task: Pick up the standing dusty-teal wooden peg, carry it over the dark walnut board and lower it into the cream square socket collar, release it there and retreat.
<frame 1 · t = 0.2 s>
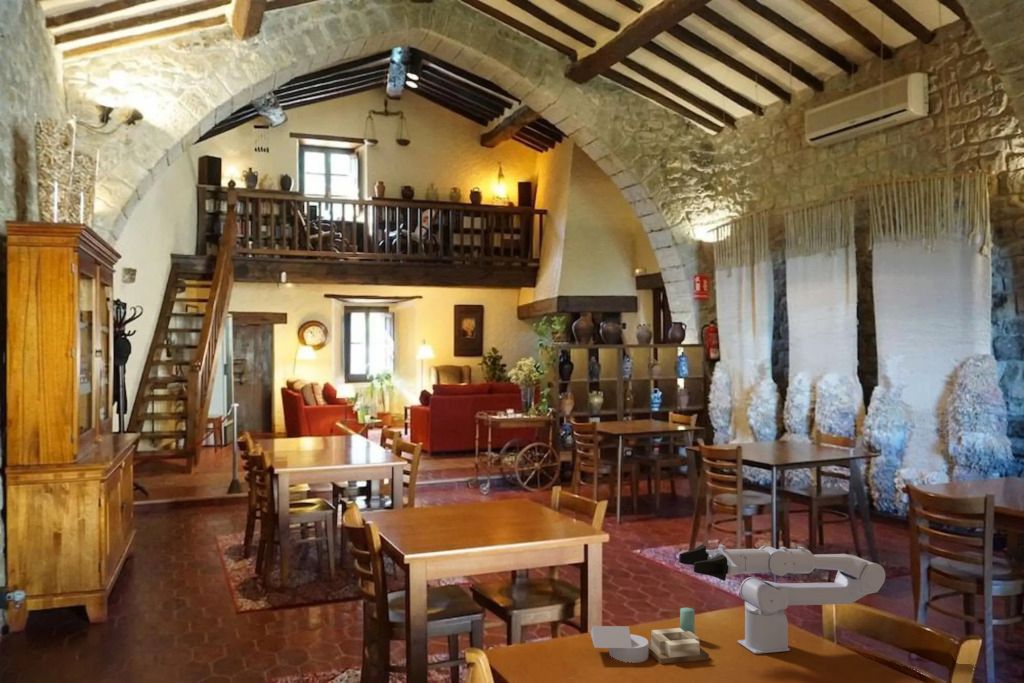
hand: (686, 562, 180), 21 cm above the table, tool horizontal, fingers open, 7 cm apart
peg: (687, 638, 190), on the table
wedge on round base: (620, 656, 178), on the table
socket board: (675, 653, 180), on the table
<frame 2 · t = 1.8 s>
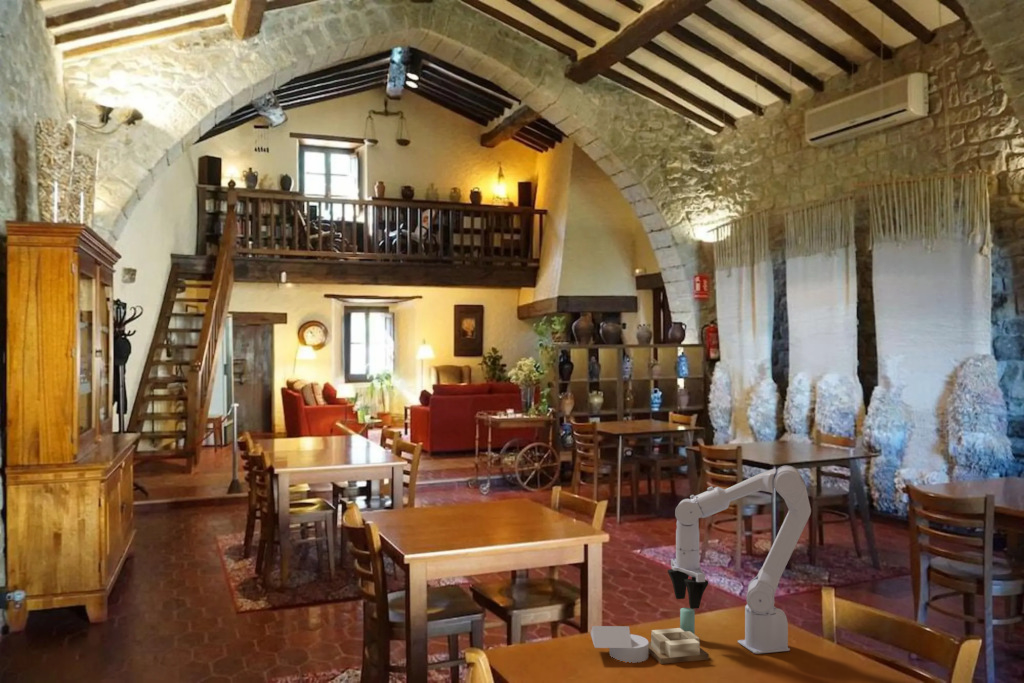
hand: (687, 603, 190), 9 cm above the table, tool pointing down, fingers open, 7 cm apart
nothing on the table moved.
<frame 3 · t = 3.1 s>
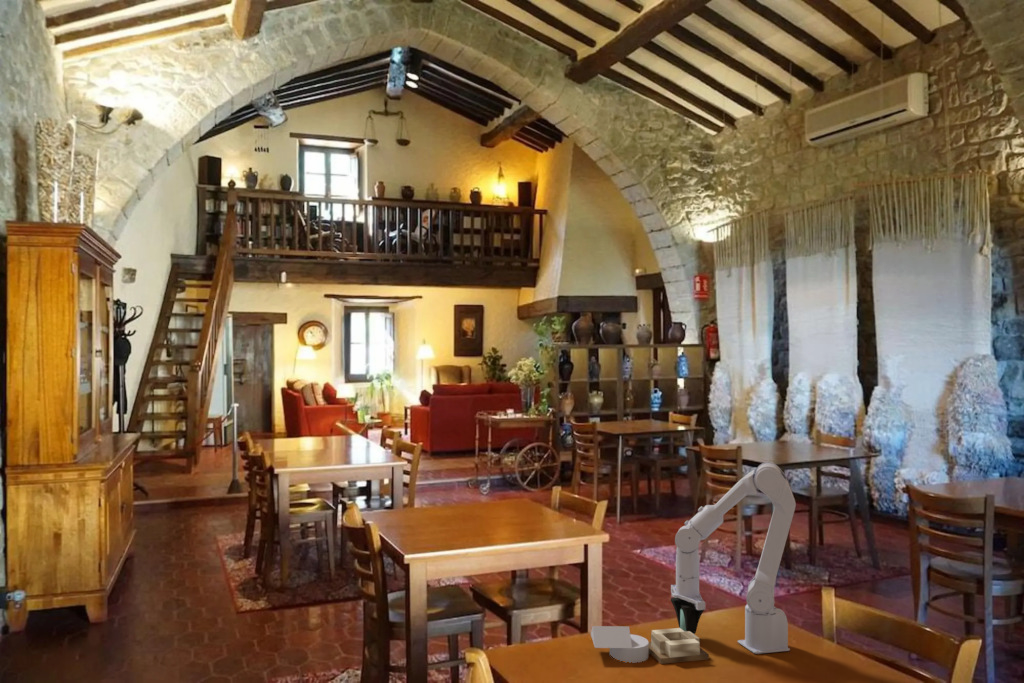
hand: (687, 630, 190), 2 cm above the table, tool pointing down, fingers closed on peg, 3 cm apart
peg: (687, 638, 190), on the table, touching gripper
everything else where it was.
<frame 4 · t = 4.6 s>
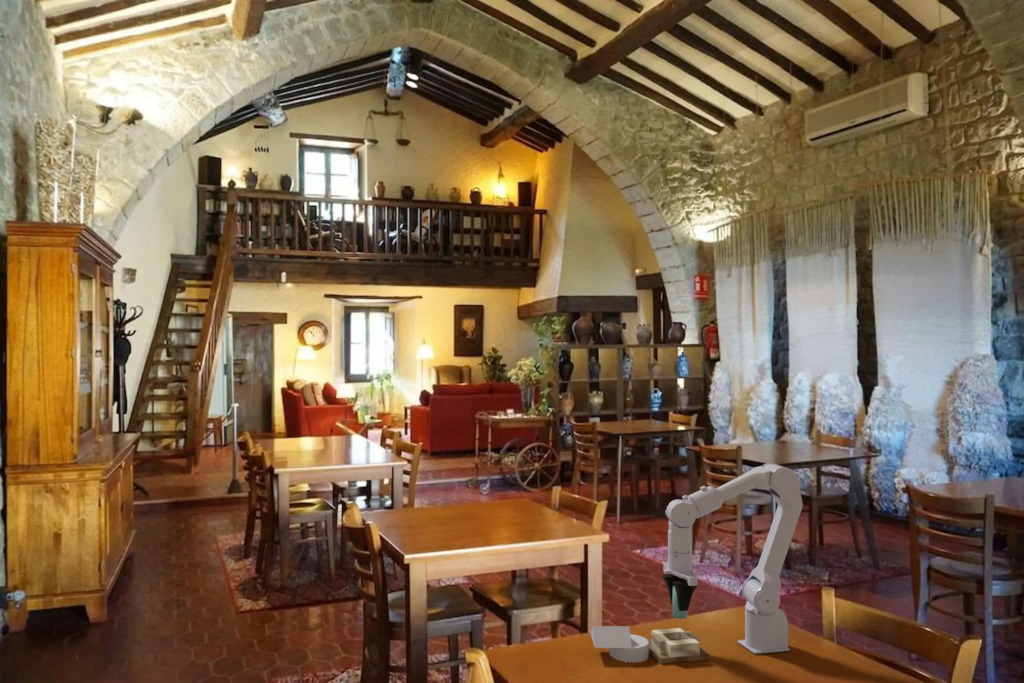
hand: (679, 607, 184), 9 cm above the table, tool pointing down, fingers closed on peg, 3 cm apart
peg: (679, 616, 184), point 7 cm above the table, touching gripper
everything else where it was.
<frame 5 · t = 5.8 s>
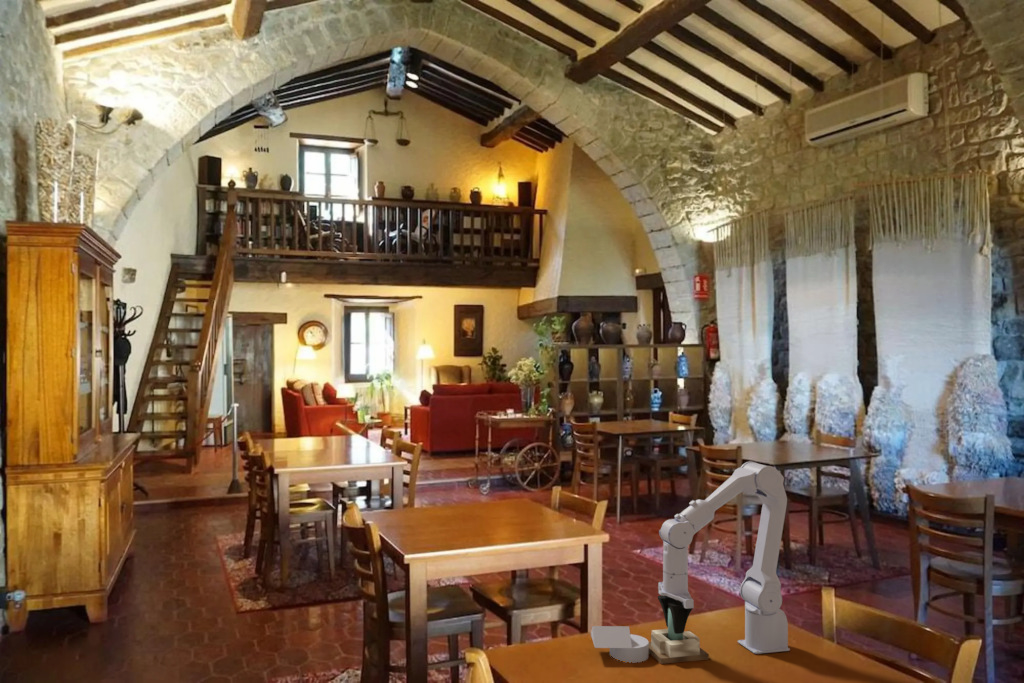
hand: (675, 629, 180), 5 cm above the table, tool pointing down, fingers closed on peg, 3 cm apart
peg: (675, 638, 180), point 3 cm above the table, touching gripper
everything else where it was.
when the fingers open (4 cm above the table, at t = 6.5 s): peg drops 1 cm, resting on socket board.
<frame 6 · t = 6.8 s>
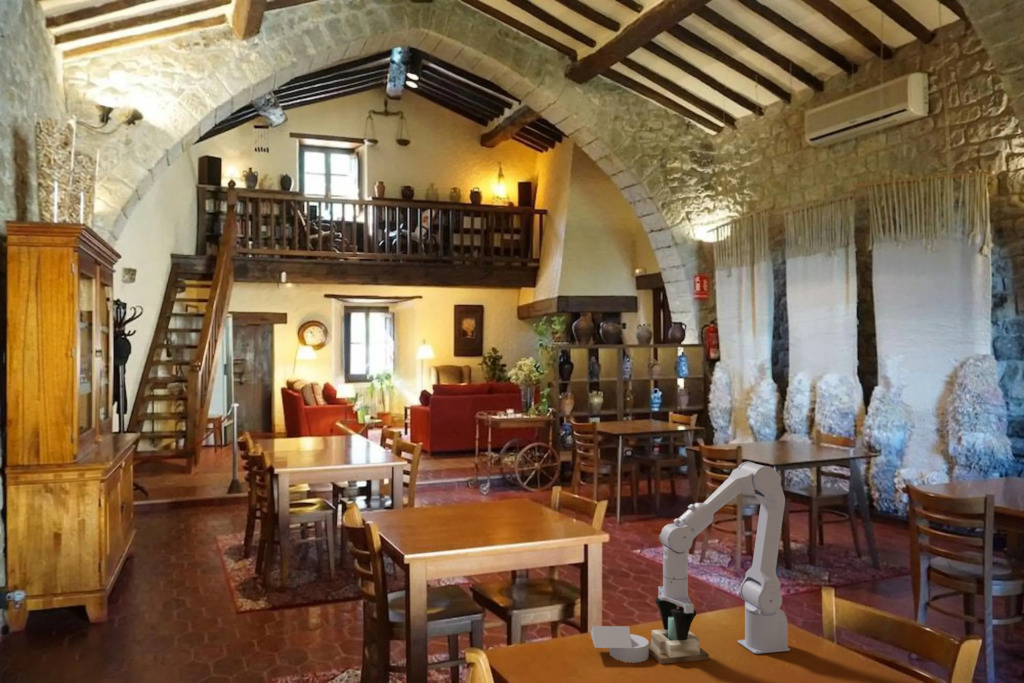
hand: (675, 634, 180), 4 cm above the table, tool pointing down, fingers open, 6 cm apart
peg: (675, 648, 180), point 1 cm above the table, touching socket board
everything else where it was.
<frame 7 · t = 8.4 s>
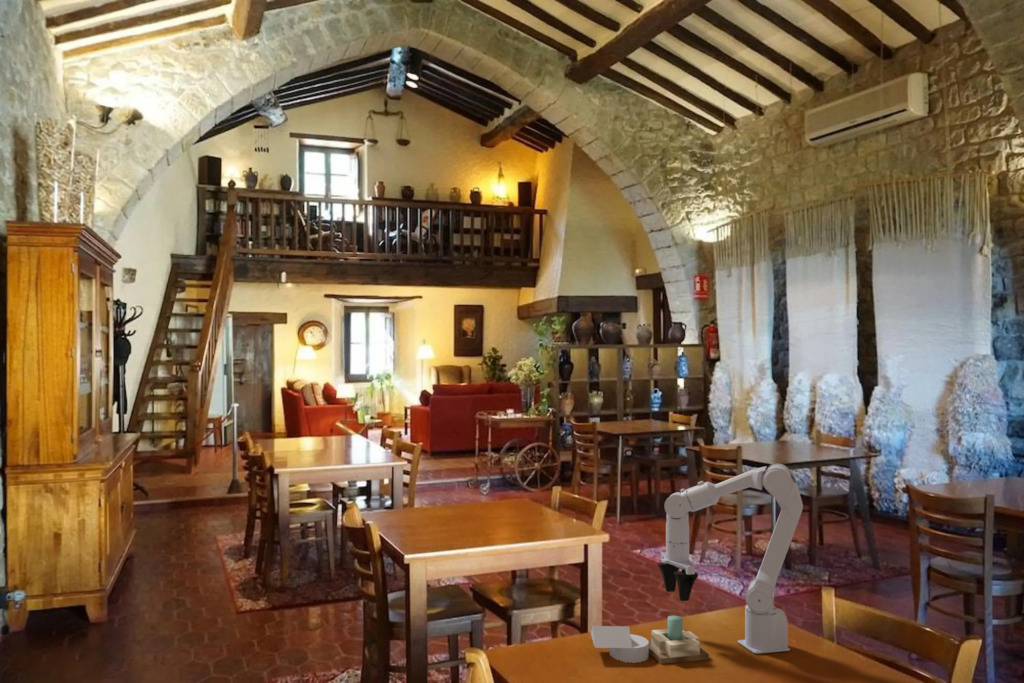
hand: (677, 595, 192), 10 cm above the table, tool pointing down, fingers open, 7 cm apart
nothing on the table moved.
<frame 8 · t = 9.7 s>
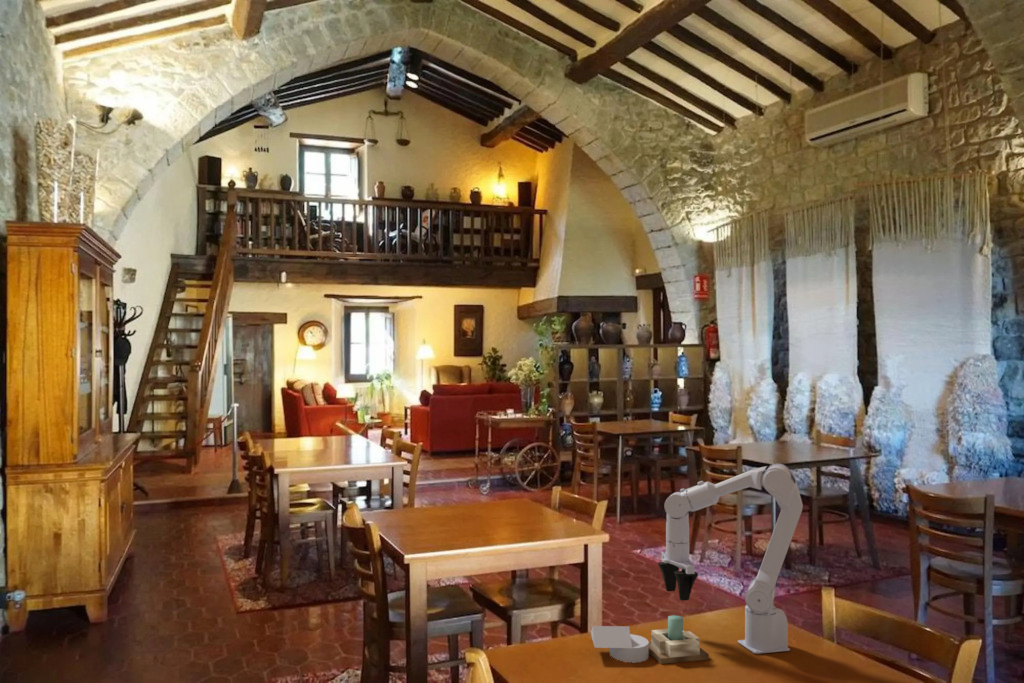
hand: (677, 595, 192), 10 cm above the table, tool pointing down, fingers open, 7 cm apart
nothing on the table moved.
at the end: peg 0.1 cm off-centre on the socket board, point 1.3 cm above the socket board's base; peg tilted 2°; the gripper is holding nothing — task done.
